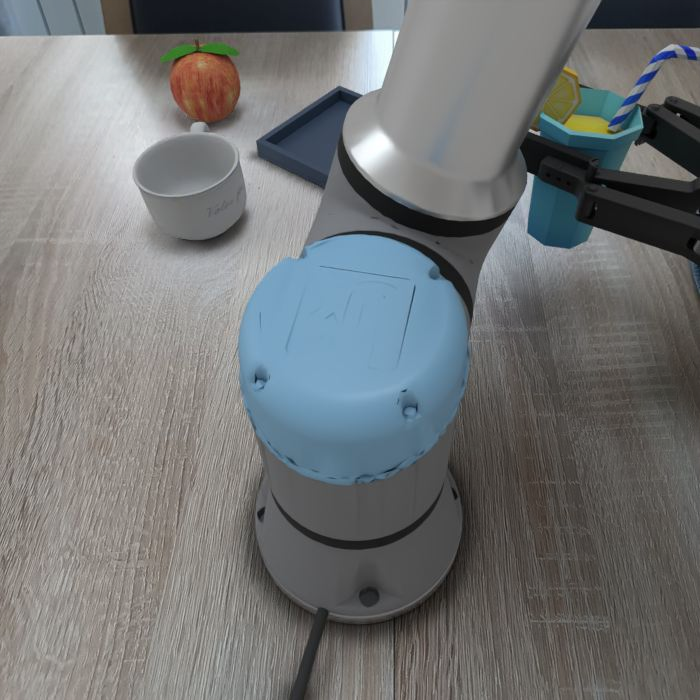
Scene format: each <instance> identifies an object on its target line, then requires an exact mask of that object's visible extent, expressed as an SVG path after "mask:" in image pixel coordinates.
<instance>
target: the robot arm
mask: <svg viewBox="0 0 700 700" xmlns="http://www.w3.org/2000/svg"><path fill="white" fill-rule="evenodd" d="M601 2H602V0H408V3H407V7H406V10H405V13H404V16H403V18H402V23H401V25H400V28H399V32H398V34H397V37H396V41H395V45H394V47H393V50H392V54H391V57H390V59H389V63H388V66H387V69H386V72H385V75H384V78H383V82H382V85H381V87H380V88H377V89H374V90H371V91H368V92H367V93H365V94H362V95H363V96H362V97H360V98H359V99H358V100H356V101H355V102H354V103H353V104H352V105H351V107H350V108H349V110H348V112H347V114H346V117H345V120H344V124H343V127H342V131H341V134H340V137H339V141H338V144H337V148H336V151H335V155H334V158H333V162H332V165H331V169H330V173H329V176H328V180H327V183H326V186H325V188H324V190H323V194H322V197H321V199H320V203H319V206H318V209H317V212H316V214H315V217H314V220H313V221H312V225H311V227H310V229H309V232H308V234H307V237H306V239H305V241H304V244H303V246H302V249H301V252H300V254H299V256H298V258H293V257H290V256H286V257H284V258H283V259H281V261H279V262H277V263H276V264H275V265H274V266H273V267H272V268H271V269H270V270H269V272H268V273H266V274H265V276H263V278H262V279H261V280H260V282H259V283H258V284H257V286H256V287H255V288H254V290H253V292H252V293H251V295H250V297H249V299H248V302H247V303H246V305H245V307H244V311H243V314H242V317H241V322H240V324H239V332H238V341H237V350H238V351H237V354H238V363H239V372H238V381H239V385H240V393H241V397H242V400H243V407H244V410H245V413H246V415H247V417H248V419H249V421H250V423H251V425H252V428H253V432H254V436H255V440H256V442H257V446H258V451H259V453H260V454H259V455H260V458H261V461H262V465H263V468H264V472H265V474H264V476H263V479H262V482H261V484H260V487H259V491H258V494H257V498H256V504H255V509H254V532H255V538H256V542H257V545H258V549H259V552H260V555H261V558H262V561H263V564H264V566H265V568H266V570H267V572H268V574H269V575H270V577H271V579H272V580H273V582H274V583H275V585H276V586H277V587H278V588H279V589H280V591H281V592H282V593H283V594H284V595H285V596H286V597H287V598H288V599H290V601H292V602H293V603H294V604H296V605H297V606H298V607H300V608H301V609H303V610H305V611H307V612H308V613H310V614H312V615H314V616H315V617H314V618H313V619H314V620H313V623H312V626H311V628H310V632H309V634H308V639H307V642H306V644H305V648H304V651H303V655H302V658H301V661H300V665H299V668H298V671H297V675H296V679H295V681H294V684H293V688H292V689H291V693H290V696H289V699H288V700H303V699H304V696H305V693H306V689H307V686H308V683H309V680H310V676H311V673H312V669H313V667H314V666H313V665H314V663H315V659H316V655H317V652H318V649H319V647H320V646H319V645H320V643H321V639H322V637H323V632H324V629H325V626H326V624H327V621H332V622H336V623H342V624H348V625H368V624H376V623H383V622H385V621H390V620H393V619H395V618H398V617H400V616H403V615H406V614H407V613H409V612H411V611H412V610H414V609H416V608H417V607H419V606H420V605H422V604H423V603H424V602H426V600H428V599H429V598H430V597H431V596H432V595H433V594H434V593H435V592H436V591H437V590H438V589H439V588H440V586H441V585H442V583H444V581H445V579H446V577H447V576H448V575H449V573H450V571H451V569H452V566H453V565H454V562H455V559H456V557H457V554H458V549H459V546H460V542H461V537H462V532H463V507H462V502H461V497H460V494H459V489H458V487H457V484H456V481H455V478H454V477H453V475H452V473H451V470H450V469H449V467H448V465H449V460H450V455H451V451H452V444H453V439H454V433H455V428H456V422H457V417H458V411H459V406H460V404H461V403H462V401H463V398H464V395H465V391H466V387H467V384H468V383H467V382H468V379H469V375H470V374H469V373H470V372H469V371H470V365H471V364H470V363H471V347H470V344H469V342H470V335H471V330H472V329H471V328H472V323H473V317H474V308H475V303H476V298H477V291H478V284H479V280H480V279H479V278H480V274H481V271H482V268H483V266H484V263H485V260H486V258H487V256H488V254H489V252H490V250H491V248H492V247H493V246H494V244H495V242H496V240H497V239H498V237H499V235H500V233H501V232H502V230H503V228H504V227H505V225H506V223H507V222H508V220H509V218H510V216H511V215H512V213H513V211H514V210H515V209H516V206H517V204H518V203H519V201H520V200H521V198H522V197H523V194H524V193H525V190H526V188H527V185H528V174H531V175H532V176H534V175H535V176H538V177H537V178H539V179H540V180H541V181H542V182H545V183H547V184H550V185H552V186H555V187H557V188H559V189H561V190H564V191H566V192H568V193H571V194H573V195H574V196H576V197H577V199H578V203H577V208H576V212H575V216H574V217H575V219H576V220H577V221H579V222H581V223H584V224H587V225H590V226H593V228H597V229H599V230H603V231H606V232H609V233H611V234H615V235H618V236H621V237H623V238H627V239H629V240H630V239H631V240H632V241H636V242H639V243H641V244H645V245H648V246H651V247H654V248H657V249H659V250H663V251H666V252H668V253H672V254H675V255H677V256H681V257H683V258H685V259H687V260H688V261H690V262H692V263H693V264H695V265H696V266H698V267H700V106H699V105H697V104H696V103H695V104H694V103H692V102H690V101H688V100H685V99H683V98H680V97H679V96H675V95H669V96H667V97H665V99H664V100H663V103H660V104H659V103H649V104H648V105H647V106H646V105H643V104H640V103H638V102H637V103H636V105H638V106H639V107H640V109H641V115H642V122H643V130H642V132H641V133H640V135H639V137H638V139H637V140H635V141H633V144H634V146H635V147H638V146H641V145H643V144H647V145H648V146H650V147H652V148H653V149H655V150H656V151H658V152H659V153H660V154H662V155H663V156H665V157H666V158H667V159H669V160H671V162H673V163H675V164H676V165H678V166H680V168H682V169H684V170H685V171H687V172H688V173H690V174H691V175H693V176H694V177H696V178H694V179H693V180H691V181H690V180H689V181H687V180H681V179H676V178H675V179H674V178H670V177H669V178H668V177H662V176H655V175H650V174H643V173H637V172H631V171H630V172H629V171H623V170H619V171H618V170H612V169H605V168H599V167H598V164H599V158H595V157H593V156H590V155H588V154H585V153H583V152H580V151H577V150H575V149H572V148H570V147H567V146H565V145H562V144H560V143H557V142H554V141H552V140H549V139H547V138H544V137H542V136H540V134H536V133H534V132H531V131H530V130H531V129H530V128H531V126H532V124H533V122H534V121H535V119H536V117H537V115H538V113H539V112H540V110H541V108H542V106H543V104H544V103H545V101H546V99H547V97H548V95H549V94H550V92H551V90H552V88H553V86H554V85H555V83H556V81H557V79H558V78H559V76H560V74H561V72H562V70H563V69H564V67H566V65H567V63H568V62H569V59H570V58H571V56H572V54H573V53H574V50H575V49H576V48H577V45H578V43H579V42H580V40H581V38H582V36H583V34H584V33H585V31H586V29H587V27H588V26H589V24H590V22H591V21H592V18H593V16H594V15H595V13H596V11H597V9H598V7H599V6H600V4H601ZM579 88H589V89H594V88H593V87H590V86H587V85H585V84H581V83H579ZM678 114H679V115H678ZM602 184H603V185H605V186H606V187H603V186H602ZM596 207H597V210H595V209H596ZM697 212H698V213H697Z"/></svg>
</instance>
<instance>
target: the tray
mask: <svg viewBox="0 0 700 700" xmlns="http://www.w3.org/2000/svg"><path fill="white" fill-rule="evenodd" d="M363 95H364V94H361V93H359V92H356V91H354V90H352V89H349V88H347V87H344V86H342V85H338V86H336V87H334V88H333V89H332V90H330V91H328V92H327V93H325V94H324V95H322V96H321V97H319V98H318V99H315V101H313V102H311V103H310V104H309V105H307V106H306V107H304V108H303V109H301V110H299V111H298V112H297V113H295V114H294V115H292V116H291V117H290V118H288V119H285V121H283V122H282V123H280V124H279V125H277V126H276V127H274V128H273V129H272V130H269V131H268V132H266V133H265V134H264V135H262V136H261V137H260V138H258V139H256V140H255V145H256V149H257V150H256V151H257V156H258V157H260V158H262V159H264V160H266V161H268V162H270V163H272V164H274V165H276V166H277V167H280V168H282V169H285V170H286V171H288V172H291V173H292V174H294V175H296V176H299V177H301V178H302V179H305V180H307V181H308V182H311V183H313V184H314V185H317V186H318V187H320V188H323V189H325V186H326V183H327V180H328V176H329V173H330V169H331V165H332V162H333V158H334V155H335V151H336V148H337V144H338V141H339V137H340V134H341V131H342V127H343V124H344V120H345V117H346V114H347V112H348V110H349V108H350V107H351V105H352V104H353V103H354V102H355V101H356V100H358V99H359V98H360V97H362V96H363Z"/></svg>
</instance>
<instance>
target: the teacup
mask: <svg viewBox="0 0 700 700" xmlns="http://www.w3.org/2000/svg"><path fill="white" fill-rule="evenodd" d="M189 129H190V130H189V131H188V132H182V133H178V134H174V135H170V136H167V137H164V138H163V139H161V140H159V141H157V142H155V143H153V144H152V145H150V146H149V147H147V148H146V149H145V150H144V151H143V152H142V153H141V154H140V155H139V156H138V157H137V158H136V160H135V162H134V164H133V166H132V170H131V171H132V172H131V173H132V179H133V181H134V183H135V185H136V187H137V188H138V190H139V193H140V195H141V197H142V200H143V202H144V204H145V206H146V209H147V210H148V212H149V214H150V216H151V218H152V220H153V221H154V223H155V224H156V225H157V227H159V229H161V230H162V231H163V232H164V233H166V234H168V235H169V236H172V237H174V238H177V239H182V240H188V241H189V240H190V241H204V240H205V241H206V240H210V239H212V238H213V239H214V238H216V237H218V236H220V235H222V234H224V233H225V232H226V231H227V230H229V229H230V228H231V227H232V226H234V225H235V224H236V222H238V220H239V219H240V218H241V216H242V215H243V213H244V210H245V208H246V203H247V188H246V183H245V182H246V181H245V177H244V173H243V169H242V165H241V161H240V151H239V149H238V147H237V145H236V144H235V142H233V141H232V140H231V139H230V138H228V137H226V136H224V135H222V134H220V133H216V132H210V128H209V126H208V124H207V122H201V121H196V122H193V123H192V124H191V125H190V128H189Z"/></svg>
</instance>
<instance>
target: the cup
mask: <svg viewBox="0 0 700 700" xmlns="http://www.w3.org/2000/svg"><path fill="white" fill-rule="evenodd" d="M670 59H679V60H686V61H687V60H688V61H697V62H700V47H695V46H687V45H681V44H673V43H671V44H669V45H667V46H665V47H664V48H663V49H661V50H660V51H659V52H657V54H655V55H654V56H653V57H652V58H651V60H650V62H649V63H648V64H647V66H646V67H645V69H644V71H643V72H642V74H641V75H640V76H639V78H638V80H637V81H636V83H635V84H634V86H633V87H632V89H631V90H630V92H629V94H628V95H627V96H626V98H625V97H624V96H621V95H619V94H617V93H615V92H613V91H611V90H608V89H600V88H599V89H597V88H593V89H589V88H579V84H580V82H579V76H578V72H577V71H575V70H573V69H571V68H569V67H567V66H565V67H564V69H563V70H562V72H561V74H560V76H559V78H558V79H557V81H556V83H555V85H554V86H553V88H552V90H551V92H550V94H549V95H548V97H547V99H546V101H545V103H544V104H543V106H542V108H541V110H540V112H539V113H538V115H537V117H536V119H535V121H534V122H533V124H532V126H531V128H530V130H531V131H534V132H535V133H539V136H542V137H544V138H547V139H549V140H552V141H554V142H557V143H560V144H562V145H565V146H567V147H570V148H572V149H575V150H577V151H580V152H583V153H585V154H588V155H590V156H593V157H595V158H599V164H598V167H599V168H605V169H612V170H618V171H621V168H622V166H623V163H624V161H625V159H626V157H627V155H628V152H629V151H630V148H631V146H632V144H633V143H634V142H635V140H637V139H638V137H639V135H640V133H641V132H642V130H643V122H642V115H641V109H640V107H639V106H638V105H636V103H637V104H638V102H639V100H640V99H641V97H642V96H643V94H644V93H645V92H646V91H647V89H648V87H649V86H650V84H651V83H652V81H653V80H654V79H655V77H656V75H657V74H658V73H659V71H660V69H661V68H662V66H663V65H664V63H666V62H668V61H669V60H670ZM537 177H538V176H535V175H533V179H532V188H531V194H530V200H529V207H528V215H527V227H526V228H527V229H526V233H527V234H528V235H529V236H530V237H532V238H533V239H535V240H536V241H537V242H538V243H540V244H541V245H543V246H545V247H551V248H552V247H553V248H559V249H565V250H566V249H567V250H570V249H574V248H575V247H577V246H579V245H581V244H583V243H585V242H587V241H588V240H589V238H590V236H591V233H592V232H593V229H594V227H593V226H590V225H587V224H584V223H581V222H579V221H577V220H576V219H575V217H574V216H575V212H576V208H577V203H578V199H577V197H576V196H574V195H573V194H571V193H568V192H566V191H564V190H561V189H559V188H557V187H555V186H552V185H550V184H547V183H545V182H542V181H541V180H540V179H539V178H537ZM602 186H603V187H606V186H605V185H603V184H602ZM595 210H597V207H596V209H595Z"/></svg>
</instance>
